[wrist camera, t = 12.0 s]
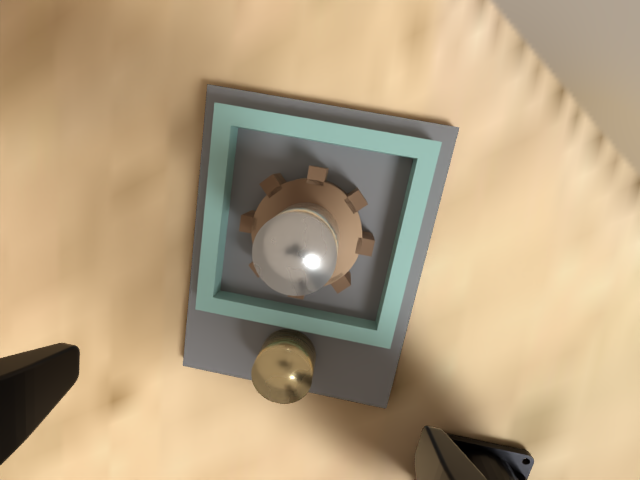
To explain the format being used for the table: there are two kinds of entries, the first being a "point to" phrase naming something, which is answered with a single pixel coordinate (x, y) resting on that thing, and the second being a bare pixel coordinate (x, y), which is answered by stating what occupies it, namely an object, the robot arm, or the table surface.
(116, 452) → the table surface
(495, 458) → the robot arm
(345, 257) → the planet gear
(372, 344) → the carrier plate
